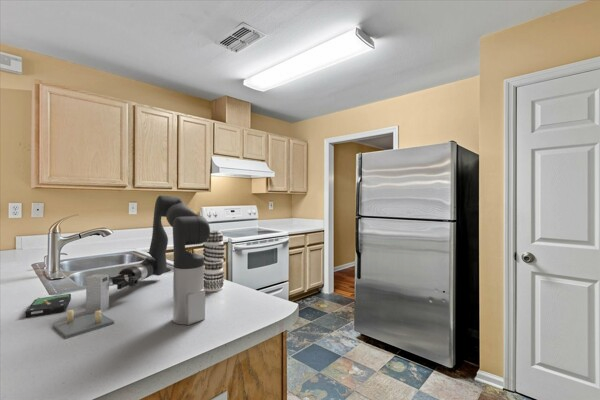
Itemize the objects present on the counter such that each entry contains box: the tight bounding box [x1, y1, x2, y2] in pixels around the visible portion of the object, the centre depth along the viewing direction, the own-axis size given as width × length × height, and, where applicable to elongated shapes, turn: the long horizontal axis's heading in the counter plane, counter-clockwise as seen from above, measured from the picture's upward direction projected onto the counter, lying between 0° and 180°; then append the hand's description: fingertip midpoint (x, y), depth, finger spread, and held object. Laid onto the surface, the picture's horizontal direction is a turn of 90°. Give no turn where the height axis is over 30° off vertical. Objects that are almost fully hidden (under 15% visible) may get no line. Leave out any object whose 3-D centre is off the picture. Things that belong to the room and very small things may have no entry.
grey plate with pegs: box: [52, 309, 115, 339], centre depth 89 cm, size 12×12×4 cm
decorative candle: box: [202, 229, 226, 292], centre depth 126 cm, size 9×9×25 cm
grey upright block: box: [85, 273, 110, 314], centre depth 100 cm, size 5×4×12 cm
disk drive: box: [24, 293, 72, 319], centre depth 102 cm, size 10×3×15 cm
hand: (106, 286), depth 105 cm, fingers open, 8 cm apart
